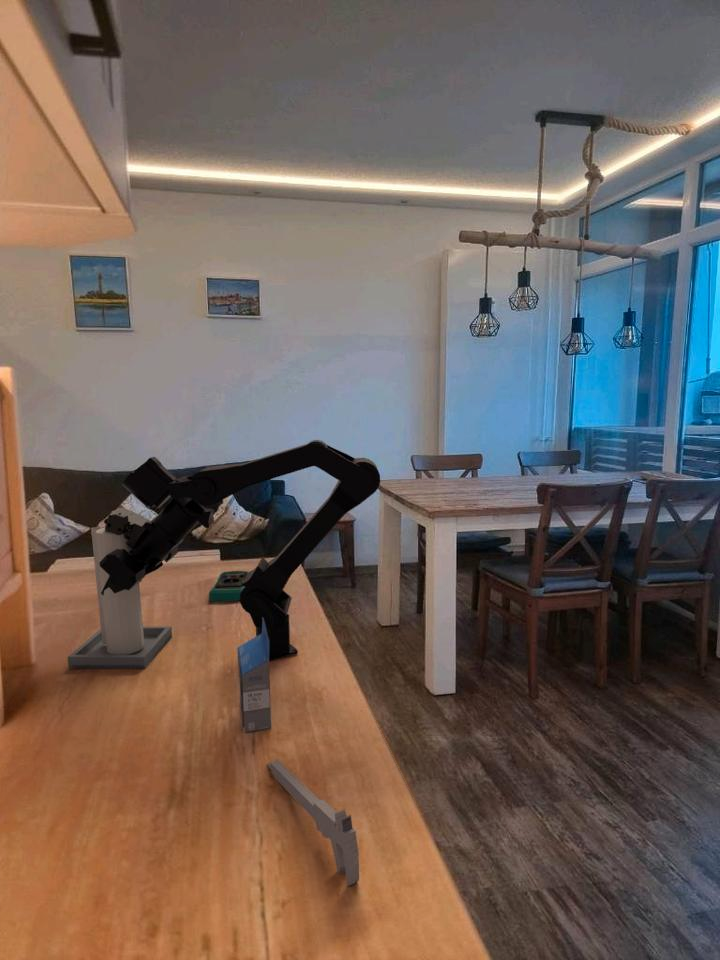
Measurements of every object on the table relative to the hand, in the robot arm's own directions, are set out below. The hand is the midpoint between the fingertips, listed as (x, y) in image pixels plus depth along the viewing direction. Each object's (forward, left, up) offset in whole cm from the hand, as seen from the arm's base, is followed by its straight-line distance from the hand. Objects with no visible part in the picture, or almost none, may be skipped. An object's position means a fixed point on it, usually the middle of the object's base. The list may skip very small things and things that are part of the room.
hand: (111, 589), depth 99 cm
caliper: (-53, -10, -12) cm, 56 cm away
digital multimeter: (+20, -28, -12) cm, 36 cm away
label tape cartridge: (-32, -13, -11) cm, 36 cm away
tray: (-1, -1, -11) cm, 11 cm away
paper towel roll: (-1, -1, -11) cm, 11 cm away
